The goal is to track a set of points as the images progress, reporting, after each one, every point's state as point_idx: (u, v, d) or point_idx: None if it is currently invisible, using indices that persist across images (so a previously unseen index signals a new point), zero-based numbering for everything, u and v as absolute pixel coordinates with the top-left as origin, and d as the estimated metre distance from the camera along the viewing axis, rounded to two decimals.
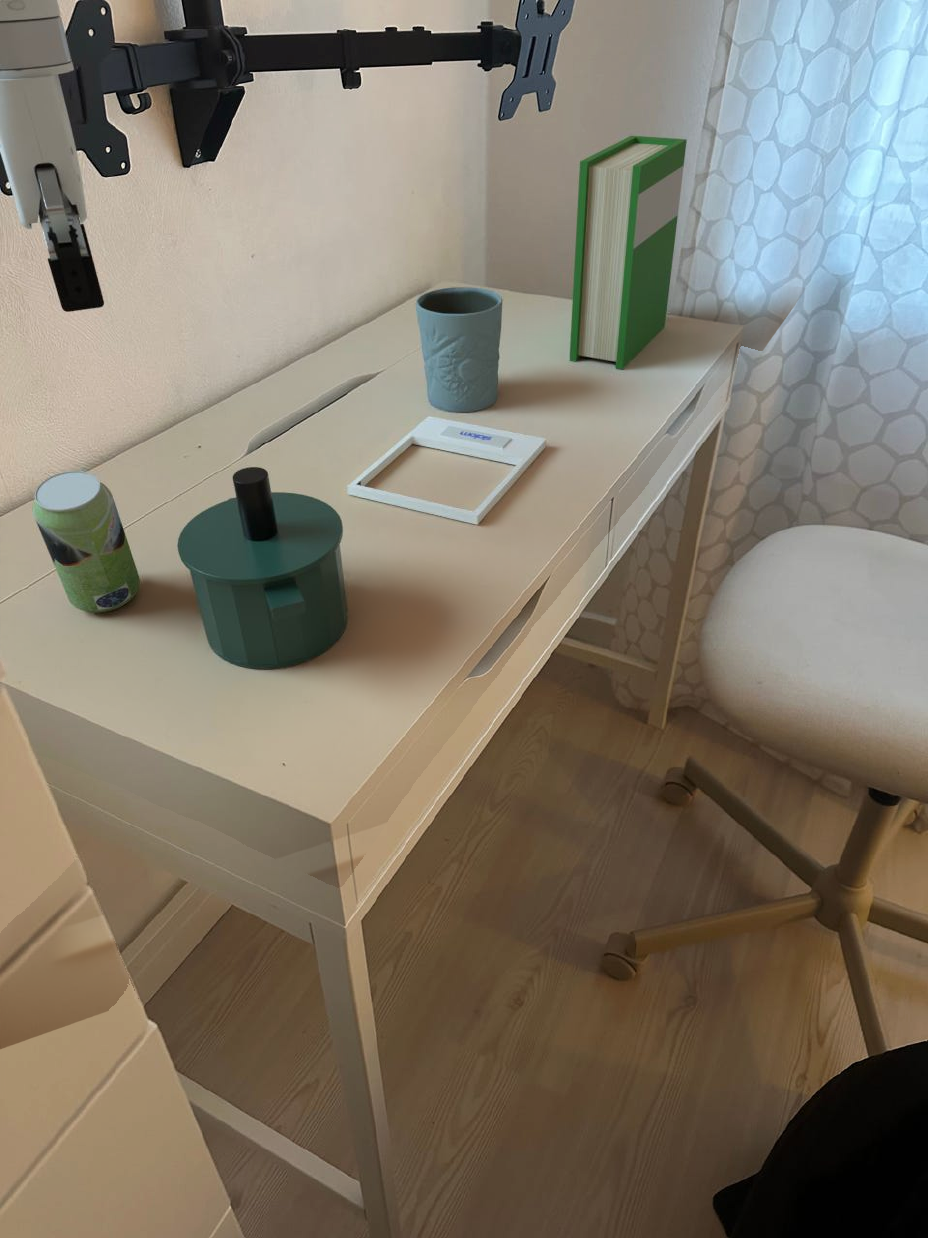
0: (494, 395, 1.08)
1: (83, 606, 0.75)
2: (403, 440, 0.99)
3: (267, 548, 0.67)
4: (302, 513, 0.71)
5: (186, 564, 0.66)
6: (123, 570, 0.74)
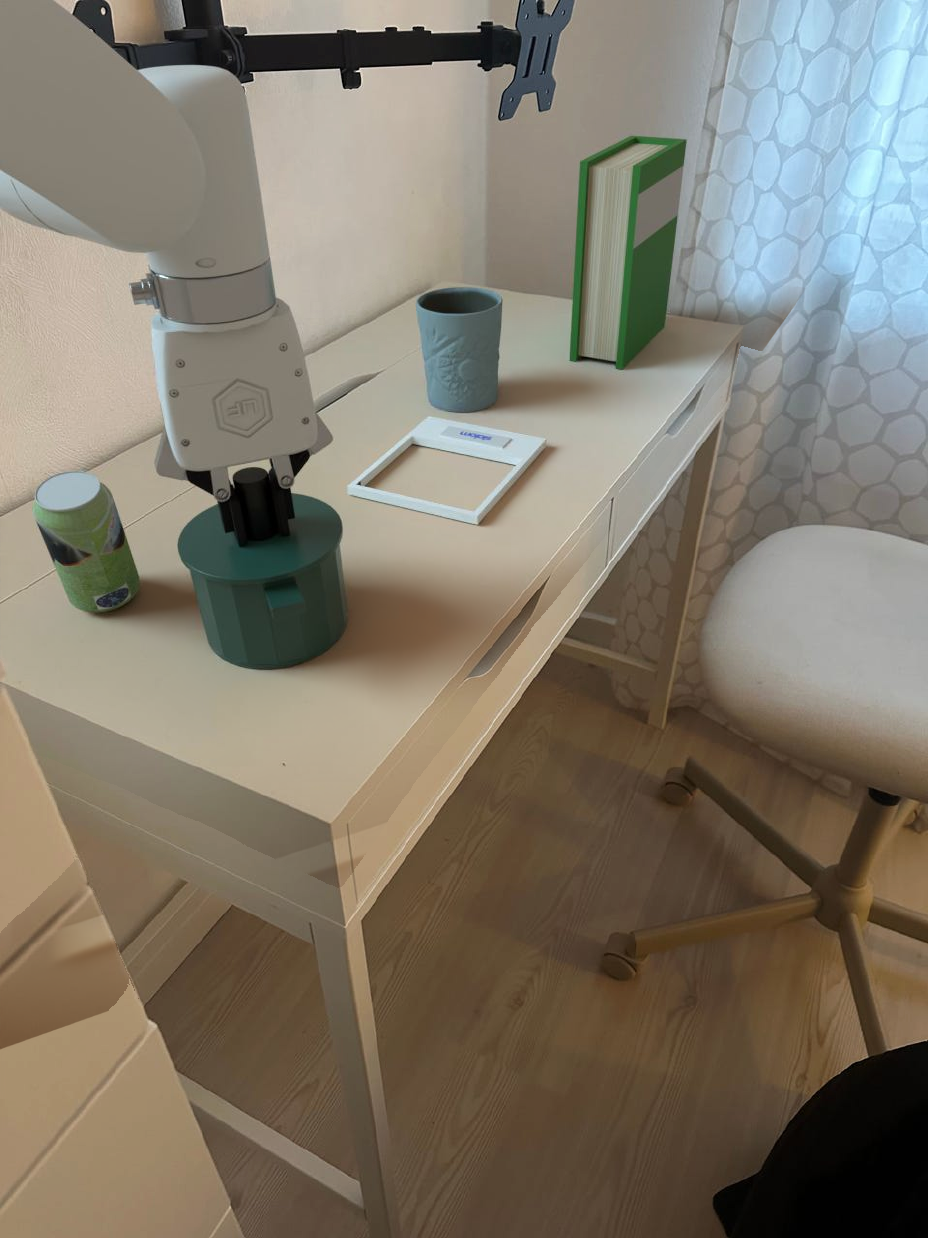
0: (494, 395, 1.08)
1: (83, 606, 0.75)
2: (403, 440, 0.99)
3: (267, 548, 0.67)
4: (302, 513, 0.71)
5: (186, 564, 0.66)
6: (123, 570, 0.74)
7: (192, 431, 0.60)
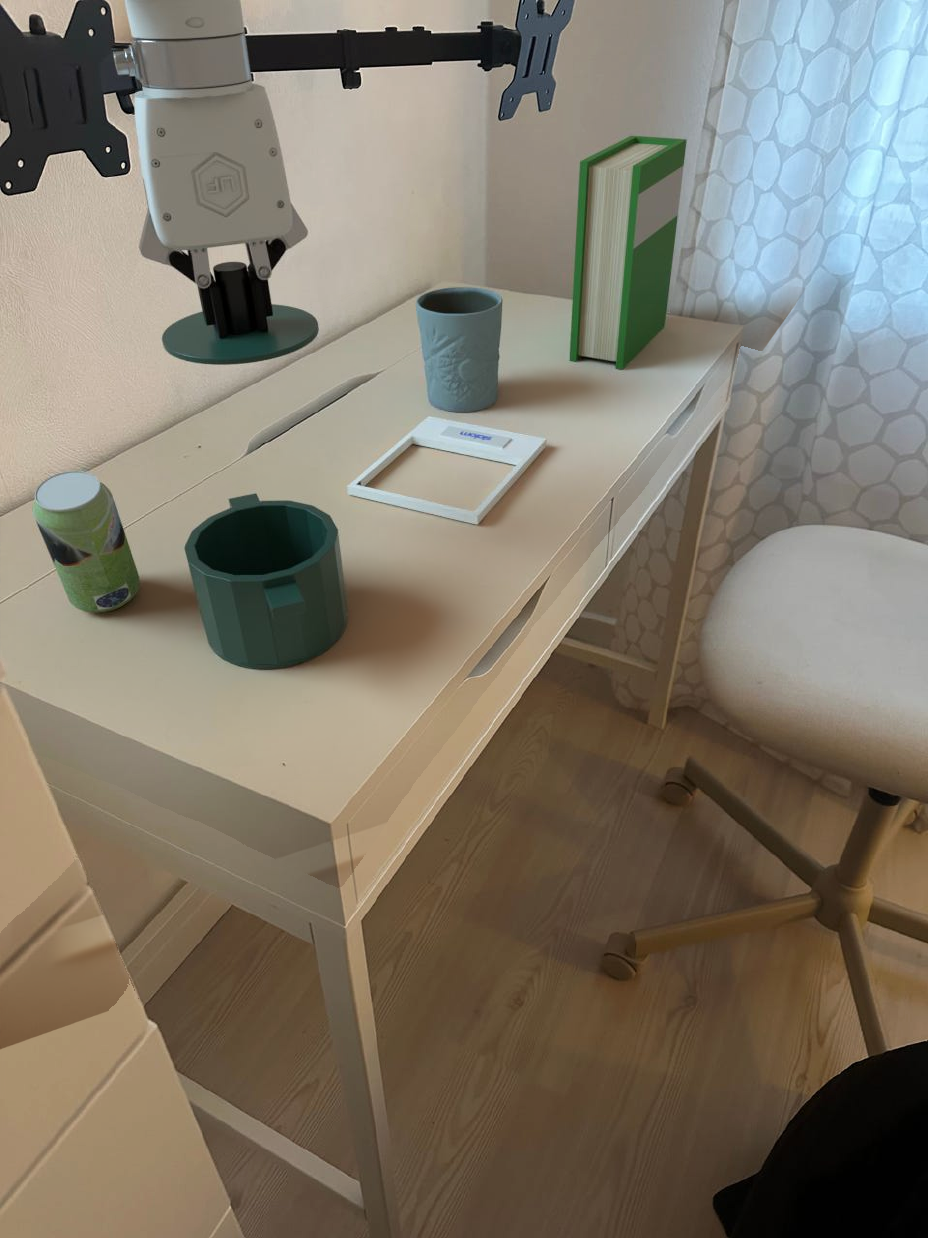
0: (494, 395, 1.08)
1: (83, 606, 0.75)
2: (403, 440, 0.99)
3: (246, 339, 0.71)
4: (281, 316, 0.75)
5: (169, 350, 0.70)
6: (123, 570, 0.74)
7: (173, 205, 0.64)
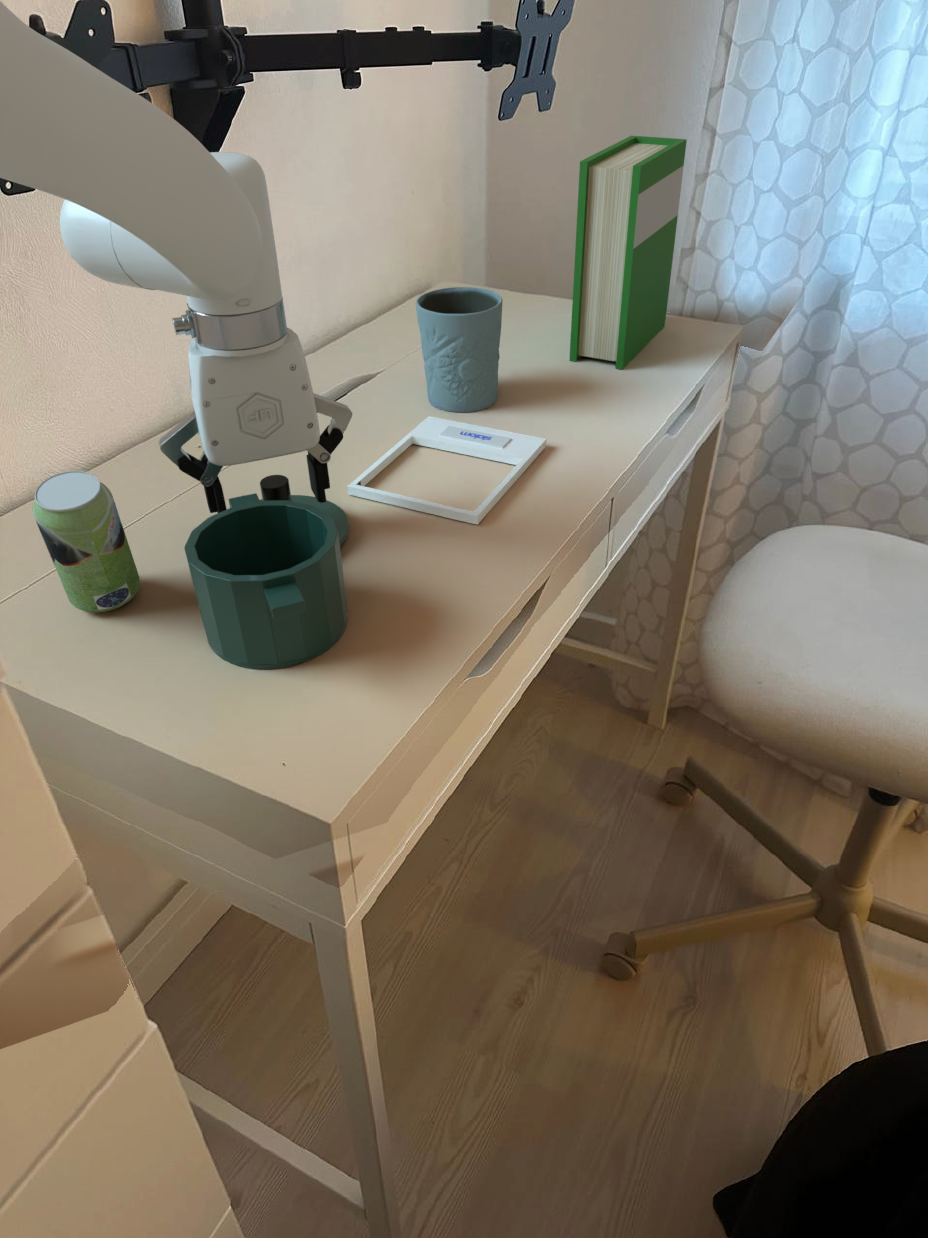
0: (494, 395, 1.08)
1: (83, 606, 0.75)
2: (403, 440, 0.99)
3: None
4: None
5: None
6: (123, 570, 0.74)
7: (220, 434, 0.75)
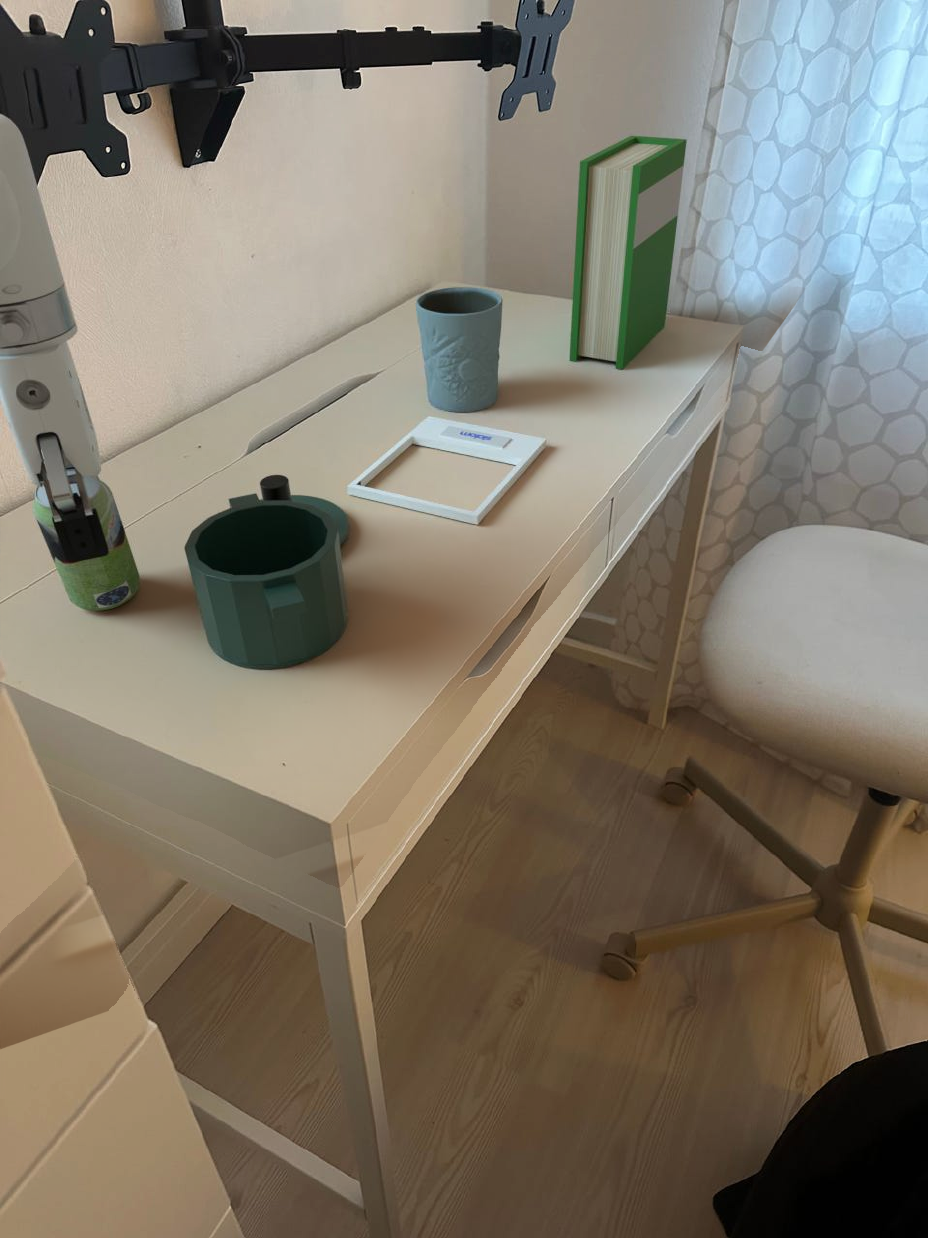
0: (494, 395, 1.08)
1: (83, 604, 0.75)
2: (403, 440, 0.99)
3: None
4: None
5: None
6: (123, 568, 0.75)
7: (90, 435, 0.65)
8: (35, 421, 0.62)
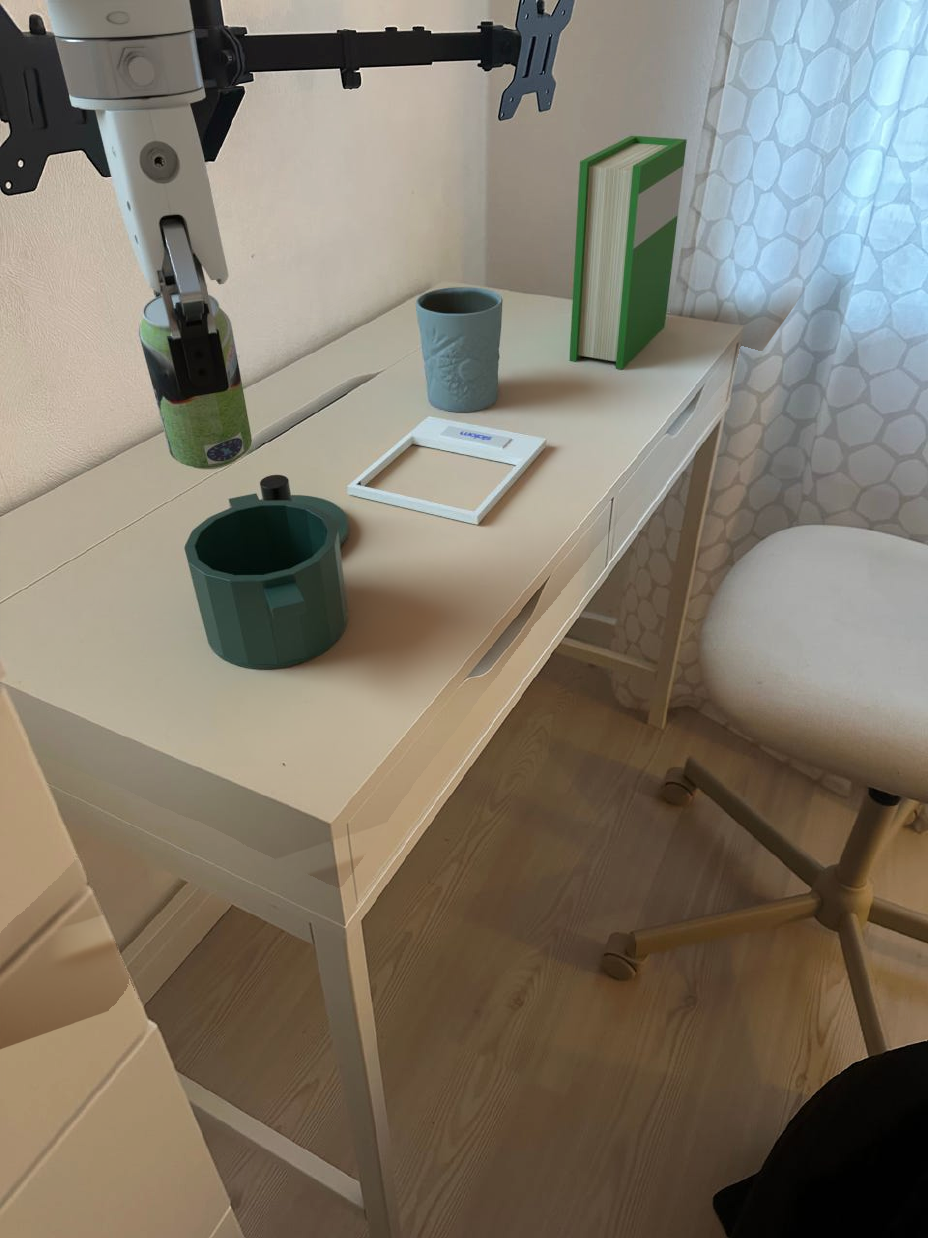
0: (494, 395, 1.08)
1: (191, 459, 0.64)
2: (403, 440, 0.99)
3: None
4: None
5: None
6: (238, 416, 0.63)
7: None
8: (160, 198, 0.51)
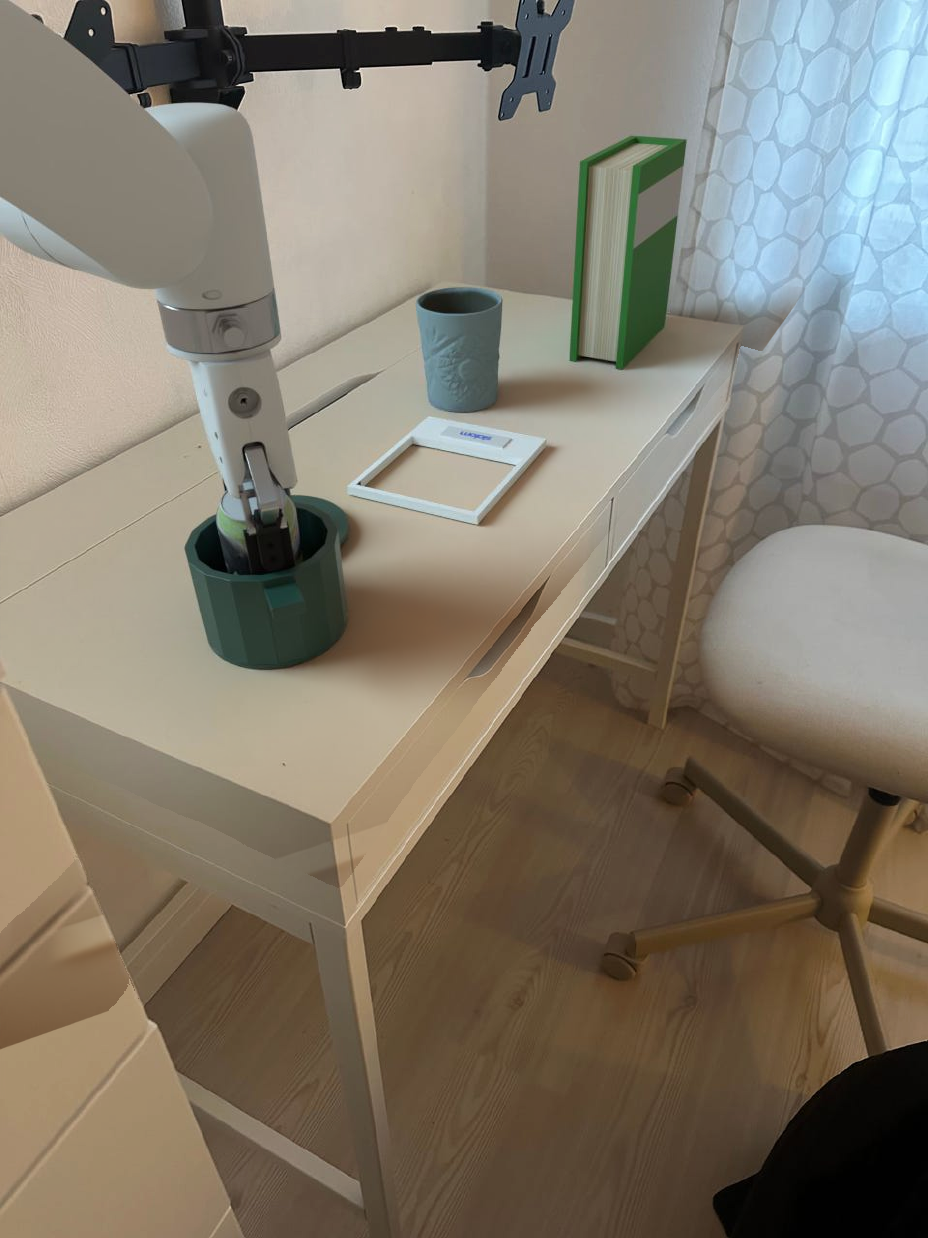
0: (494, 395, 1.08)
1: None
2: (403, 440, 0.99)
3: None
4: None
5: None
6: None
7: None
8: (244, 430, 0.59)
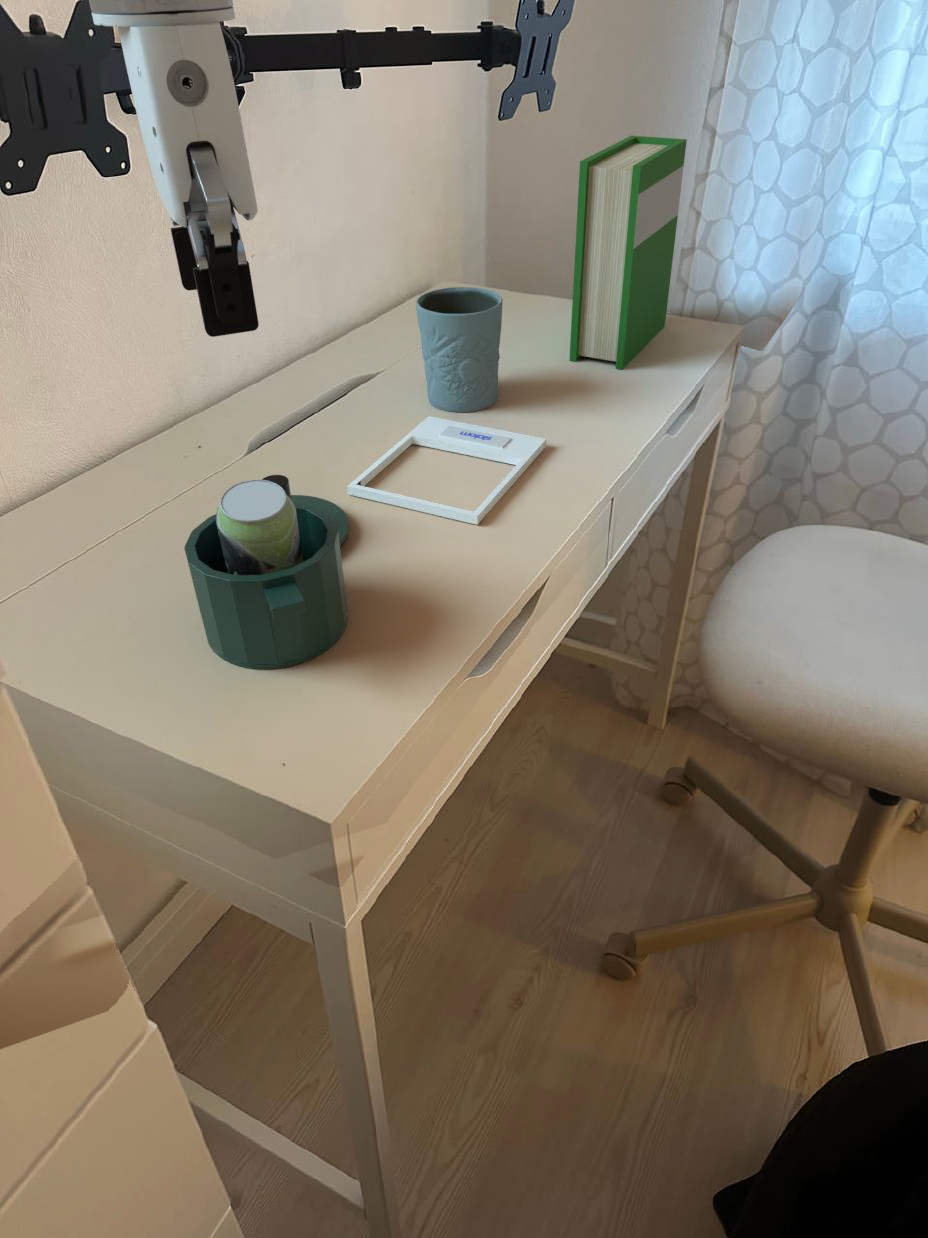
0: (494, 395, 1.08)
1: None
2: (403, 440, 0.99)
3: None
4: None
5: None
6: None
7: None
8: (188, 123, 0.48)
